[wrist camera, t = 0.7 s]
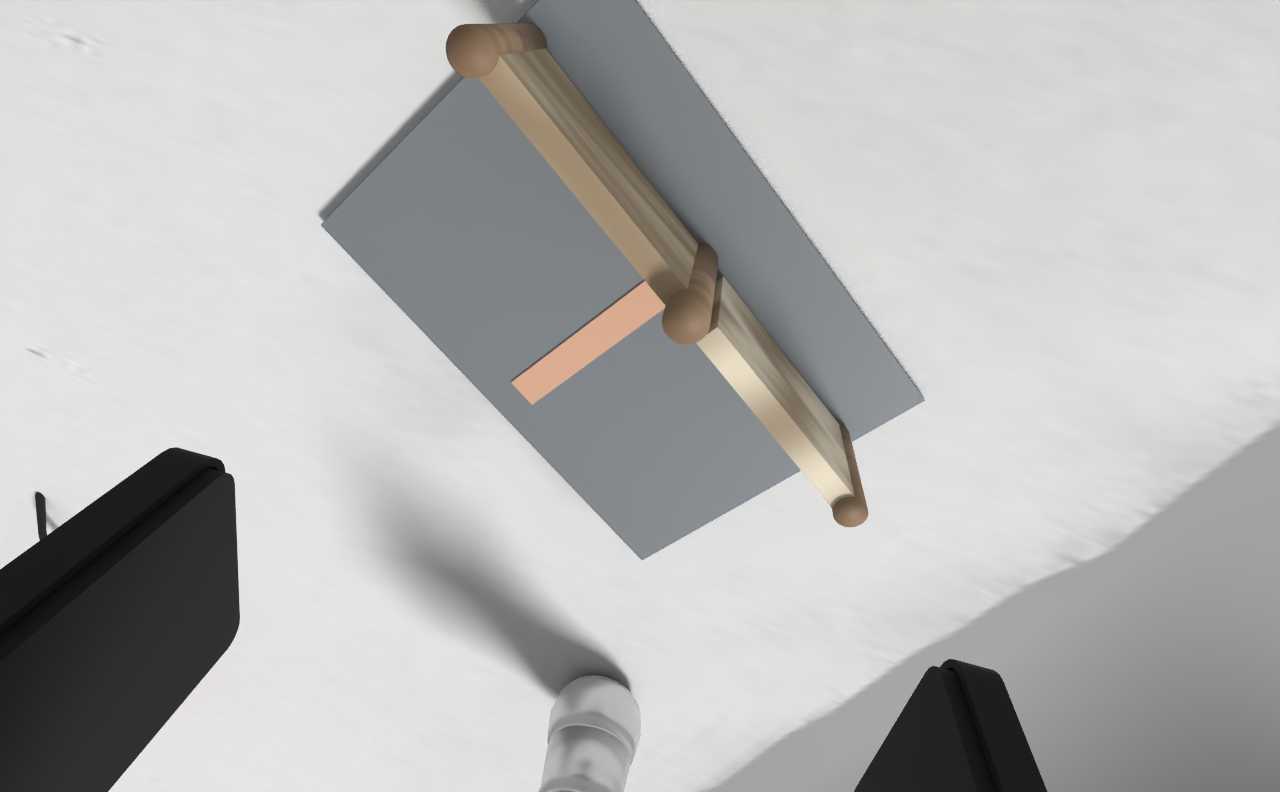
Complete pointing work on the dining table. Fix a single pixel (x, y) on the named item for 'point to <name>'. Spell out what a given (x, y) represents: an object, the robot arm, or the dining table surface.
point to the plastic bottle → (591, 737)
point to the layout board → (611, 284)
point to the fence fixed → (592, 167)
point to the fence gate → (784, 404)
